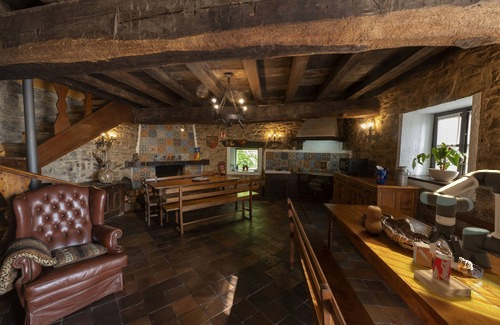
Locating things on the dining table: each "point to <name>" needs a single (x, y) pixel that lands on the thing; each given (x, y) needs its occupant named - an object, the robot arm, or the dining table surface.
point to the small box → (422, 254)
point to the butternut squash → (373, 219)
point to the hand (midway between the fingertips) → (442, 260)
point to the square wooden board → (442, 284)
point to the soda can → (441, 268)
